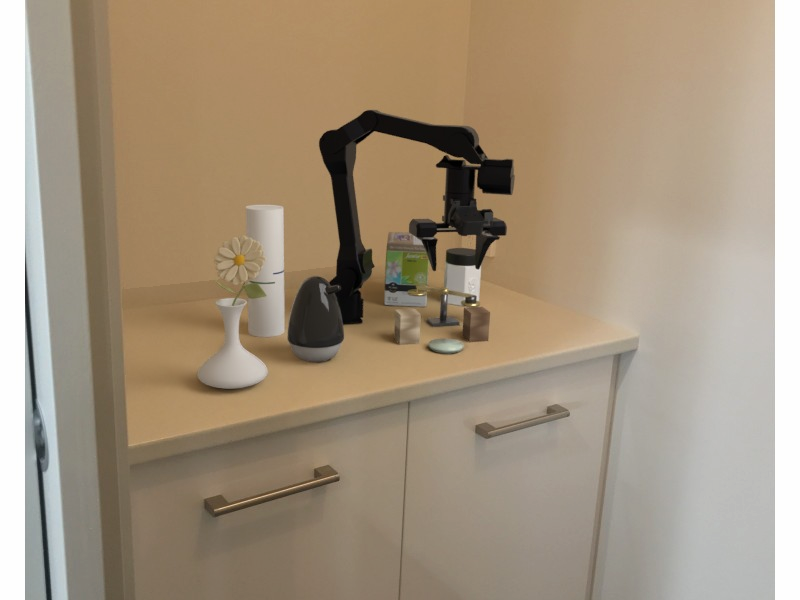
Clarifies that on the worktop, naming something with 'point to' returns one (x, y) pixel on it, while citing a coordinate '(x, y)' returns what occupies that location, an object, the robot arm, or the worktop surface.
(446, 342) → the dish
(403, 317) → the block beech
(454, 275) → the jar
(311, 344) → the pump dispenser
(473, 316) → the block walnut
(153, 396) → the worktop surface
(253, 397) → the worktop surface
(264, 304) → the cylindrical container
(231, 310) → the flower in vase
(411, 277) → the tea box
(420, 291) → the balance
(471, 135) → the robot arm
